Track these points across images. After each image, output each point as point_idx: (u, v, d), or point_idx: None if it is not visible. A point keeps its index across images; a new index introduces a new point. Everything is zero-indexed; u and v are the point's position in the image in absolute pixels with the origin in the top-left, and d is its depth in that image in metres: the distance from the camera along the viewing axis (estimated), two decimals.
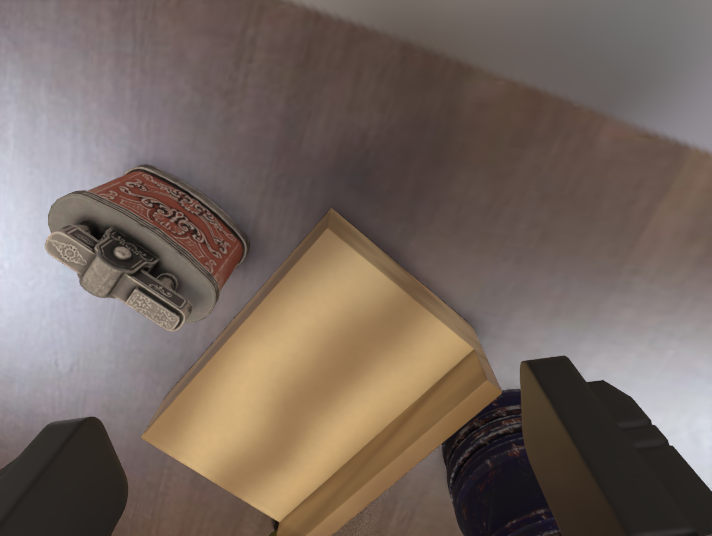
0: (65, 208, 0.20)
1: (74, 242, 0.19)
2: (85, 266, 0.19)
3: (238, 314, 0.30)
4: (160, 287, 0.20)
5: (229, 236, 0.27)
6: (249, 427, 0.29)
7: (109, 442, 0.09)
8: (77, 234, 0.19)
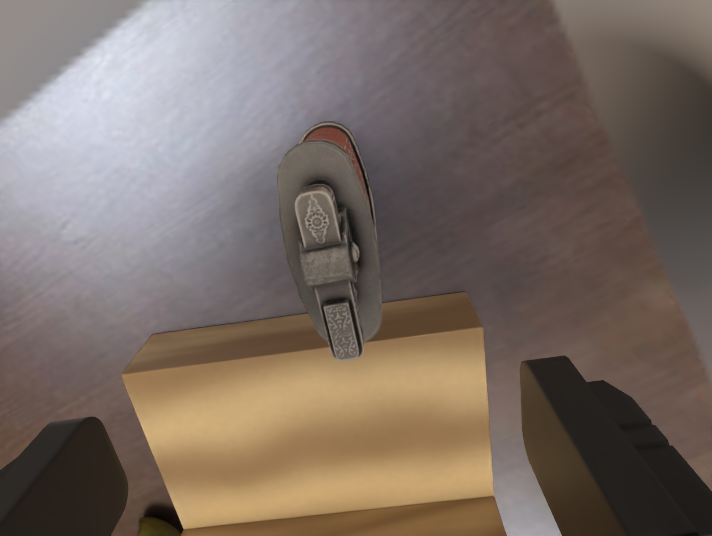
0: (319, 156, 0.16)
1: (333, 216, 0.15)
2: (318, 244, 0.15)
3: (301, 315, 0.27)
4: (357, 309, 0.17)
5: None
6: (242, 435, 0.25)
7: (109, 442, 0.09)
8: (335, 206, 0.15)
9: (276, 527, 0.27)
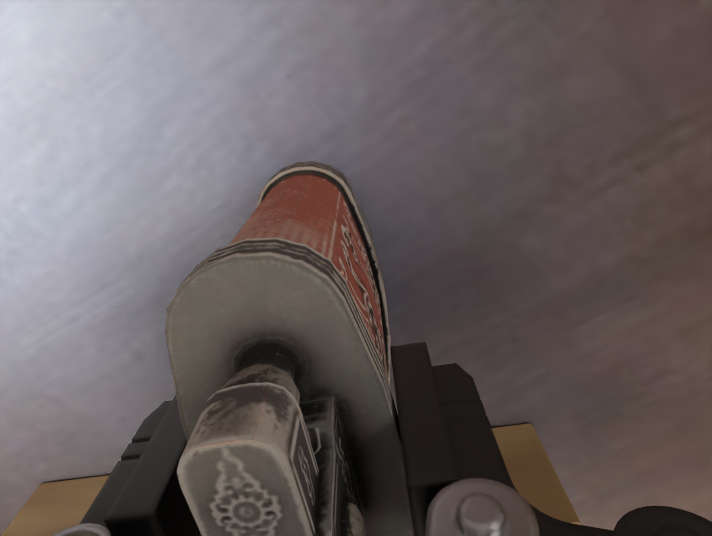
0: (266, 287, 0.06)
1: (292, 499, 0.05)
2: None
3: None
4: None
5: None
6: None
7: None
8: (300, 453, 0.05)
9: None
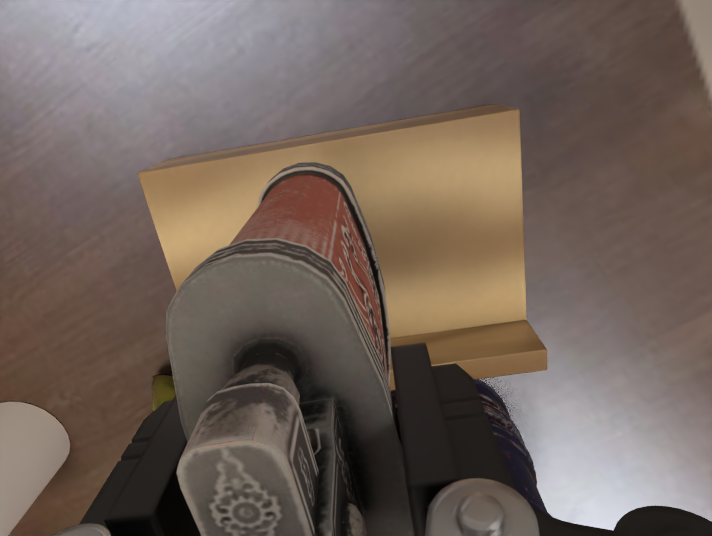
0: (266, 288, 0.06)
1: (291, 500, 0.05)
2: None
3: (324, 133, 0.25)
4: None
5: None
6: None
7: None
8: (300, 454, 0.05)
9: None
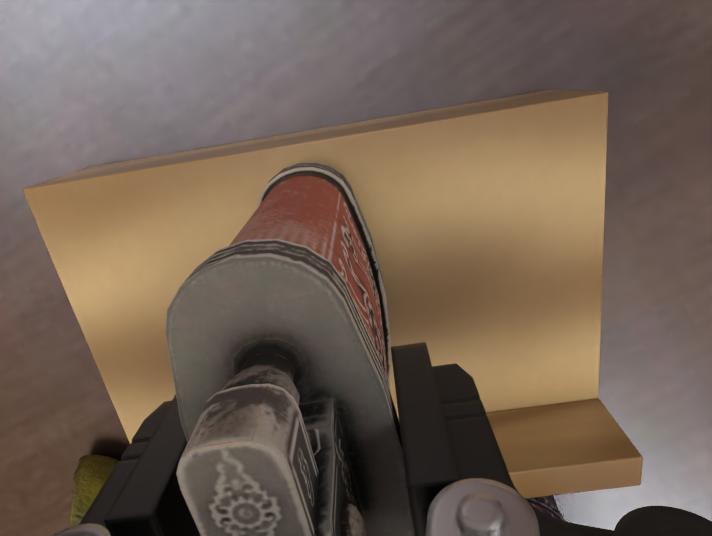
0: (266, 288, 0.06)
1: (291, 500, 0.05)
2: None
3: (309, 130, 0.18)
4: None
5: None
6: None
7: None
8: (300, 454, 0.05)
9: None
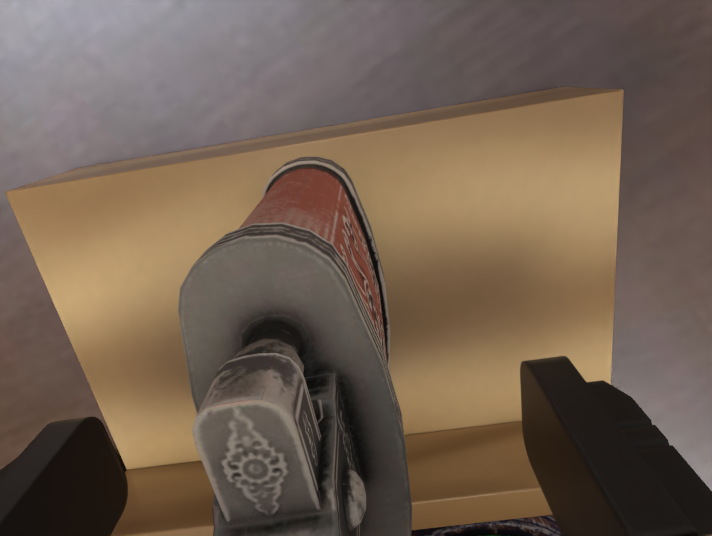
0: (272, 267, 0.07)
1: (297, 456, 0.06)
2: (261, 515, 0.06)
3: (307, 130, 0.17)
4: None
5: None
6: None
7: (109, 442, 0.09)
8: (304, 417, 0.06)
9: None
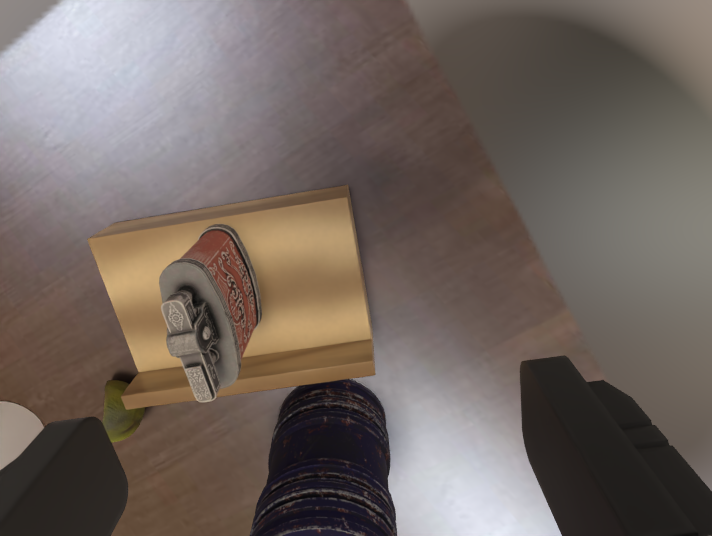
0: (184, 271, 0.25)
1: (185, 314, 0.24)
2: (178, 331, 0.24)
3: (226, 205, 0.35)
4: (212, 368, 0.26)
5: (254, 317, 0.33)
6: None
7: (109, 442, 0.09)
8: (188, 307, 0.24)
9: None
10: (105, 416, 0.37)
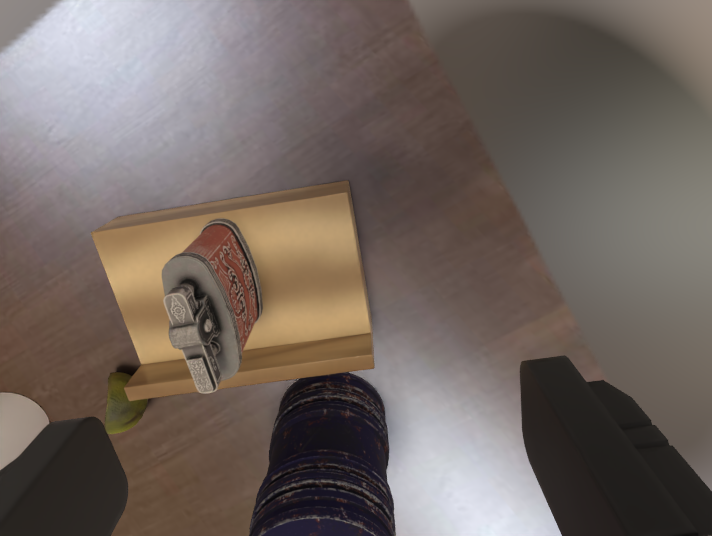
0: (186, 264, 0.26)
1: (187, 307, 0.24)
2: (180, 323, 0.25)
3: (227, 200, 0.36)
4: (213, 360, 0.26)
5: (255, 310, 0.33)
6: None
7: (109, 442, 0.09)
8: (190, 300, 0.25)
9: None
10: (108, 407, 0.38)
